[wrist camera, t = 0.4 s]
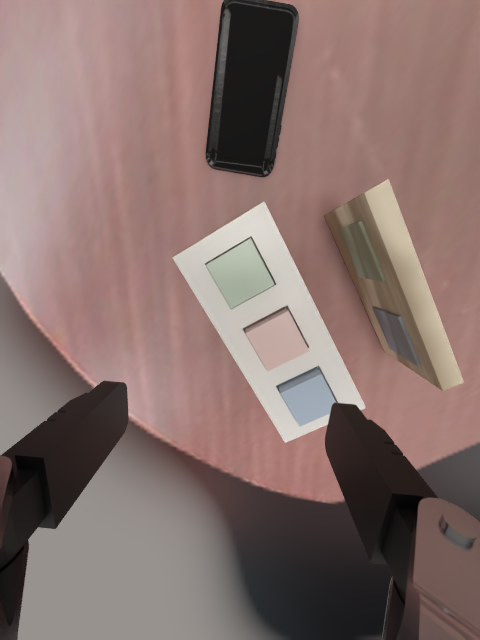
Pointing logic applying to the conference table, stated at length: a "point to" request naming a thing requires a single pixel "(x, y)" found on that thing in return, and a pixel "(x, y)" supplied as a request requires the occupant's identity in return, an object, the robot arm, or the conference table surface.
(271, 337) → the key rose
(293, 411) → the key slate
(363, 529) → the robot arm
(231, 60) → the phone
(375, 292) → the card
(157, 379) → the conference table surface
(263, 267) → the key sage
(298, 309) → the keypad
